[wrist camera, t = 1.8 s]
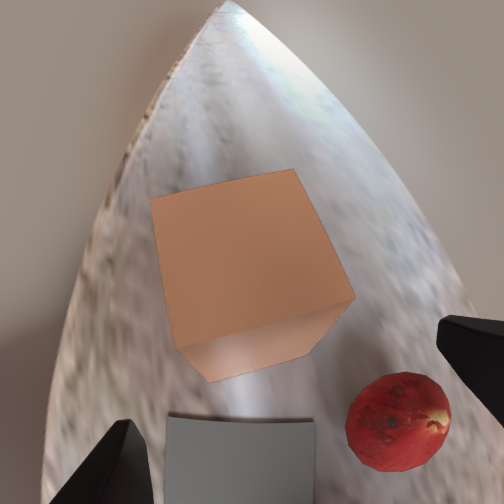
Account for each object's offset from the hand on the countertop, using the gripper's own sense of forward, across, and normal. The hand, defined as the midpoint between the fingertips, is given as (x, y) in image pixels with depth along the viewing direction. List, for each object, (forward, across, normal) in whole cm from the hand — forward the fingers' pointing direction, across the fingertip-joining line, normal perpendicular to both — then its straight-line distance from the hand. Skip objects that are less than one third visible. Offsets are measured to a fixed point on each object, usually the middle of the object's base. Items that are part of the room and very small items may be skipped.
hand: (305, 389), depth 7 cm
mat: (+5, +3, +12) cm, 13 cm away
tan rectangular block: (+12, 0, +4) cm, 13 cm away
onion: (+6, -6, +11) cm, 14 cm away
